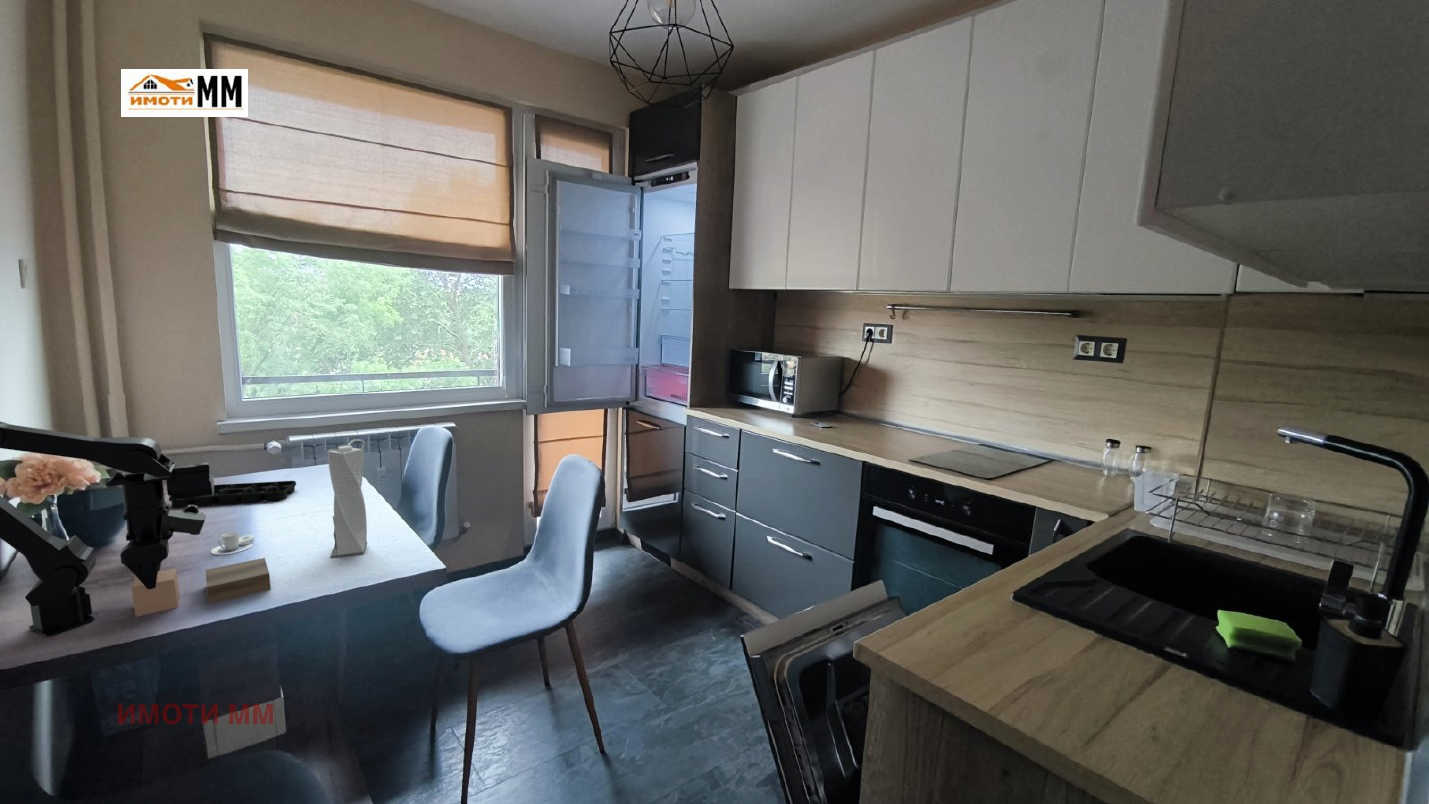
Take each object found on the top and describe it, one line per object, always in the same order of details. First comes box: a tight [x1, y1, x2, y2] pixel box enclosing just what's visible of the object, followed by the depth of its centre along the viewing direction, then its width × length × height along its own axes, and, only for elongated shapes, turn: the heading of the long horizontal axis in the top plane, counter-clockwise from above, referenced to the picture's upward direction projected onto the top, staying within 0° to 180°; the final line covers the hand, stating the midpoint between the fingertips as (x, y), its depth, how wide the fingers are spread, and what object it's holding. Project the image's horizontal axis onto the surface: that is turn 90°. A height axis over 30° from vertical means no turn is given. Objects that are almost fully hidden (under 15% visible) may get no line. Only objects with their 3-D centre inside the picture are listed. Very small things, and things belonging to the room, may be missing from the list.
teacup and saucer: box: [210, 531, 255, 556], centre depth 144 cm, size 9×8×4 cm
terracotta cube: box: [131, 568, 181, 617], centre depth 116 cm, size 6×6×6 cm
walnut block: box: [205, 557, 272, 605], centre depth 124 cm, size 10×10×4 cm
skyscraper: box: [326, 438, 368, 559], centre depth 142 cm, size 8×8×28 cm
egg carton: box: [168, 480, 297, 509], centre depth 179 cm, size 18×30×4 cm, turn 120°
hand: (154, 579), depth 116 cm, fingers open, 9 cm apart
